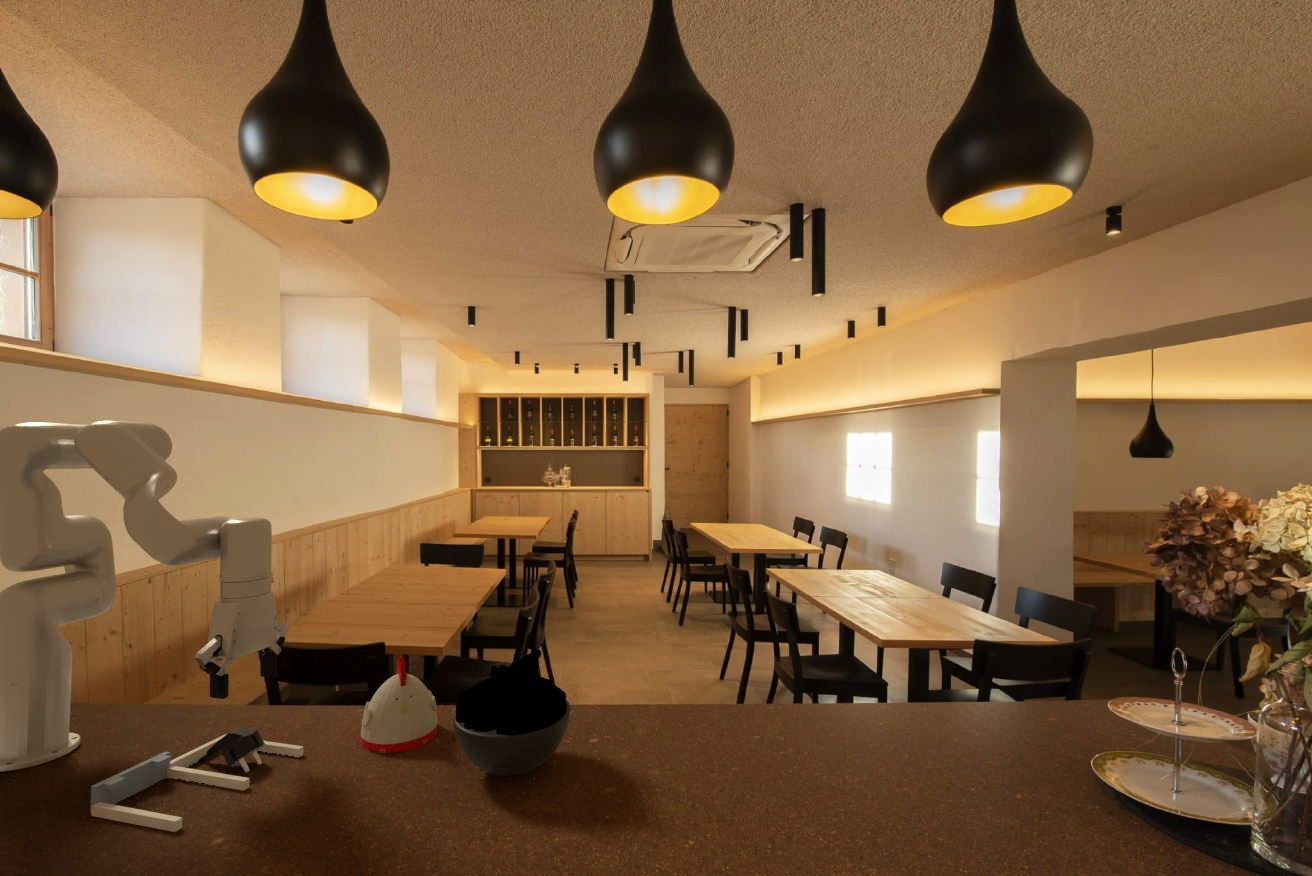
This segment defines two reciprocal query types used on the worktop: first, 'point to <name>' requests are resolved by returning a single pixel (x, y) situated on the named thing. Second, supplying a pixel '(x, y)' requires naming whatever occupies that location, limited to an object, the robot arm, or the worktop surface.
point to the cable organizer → (159, 769)
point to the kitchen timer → (399, 714)
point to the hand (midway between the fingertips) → (245, 686)
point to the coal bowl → (511, 719)
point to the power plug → (238, 747)
